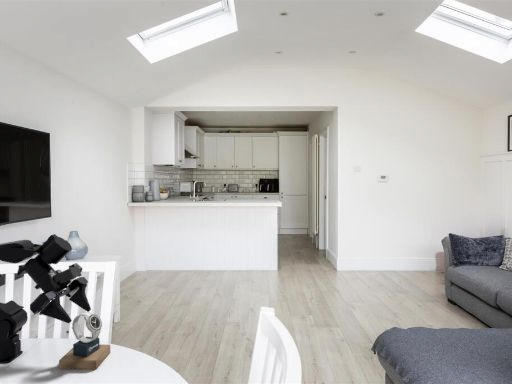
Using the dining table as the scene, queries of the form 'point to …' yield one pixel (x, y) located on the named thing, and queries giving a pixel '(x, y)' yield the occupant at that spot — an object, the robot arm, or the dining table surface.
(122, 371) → the dining table surface
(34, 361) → the dining table surface
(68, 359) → the plinth
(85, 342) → the watch
